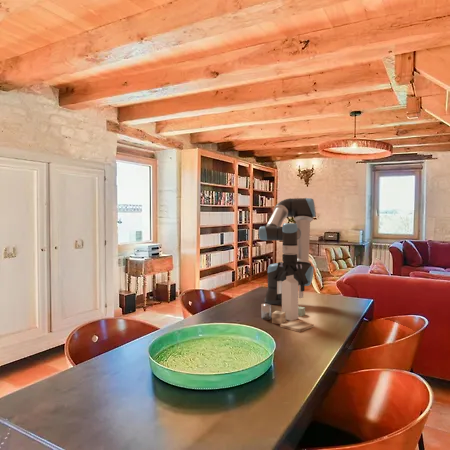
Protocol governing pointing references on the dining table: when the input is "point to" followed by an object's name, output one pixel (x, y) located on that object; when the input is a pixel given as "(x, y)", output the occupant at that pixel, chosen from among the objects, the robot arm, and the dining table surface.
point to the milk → (290, 298)
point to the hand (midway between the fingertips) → (289, 295)
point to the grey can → (266, 311)
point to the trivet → (297, 325)
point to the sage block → (301, 311)
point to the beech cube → (278, 317)
